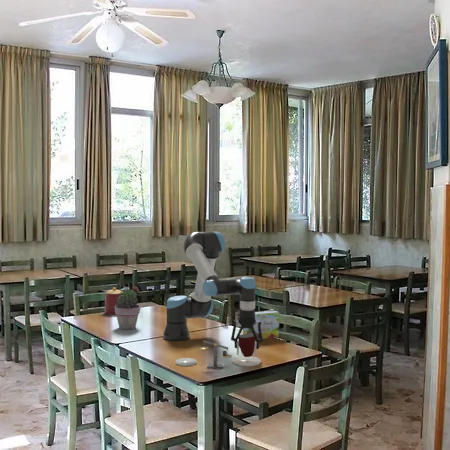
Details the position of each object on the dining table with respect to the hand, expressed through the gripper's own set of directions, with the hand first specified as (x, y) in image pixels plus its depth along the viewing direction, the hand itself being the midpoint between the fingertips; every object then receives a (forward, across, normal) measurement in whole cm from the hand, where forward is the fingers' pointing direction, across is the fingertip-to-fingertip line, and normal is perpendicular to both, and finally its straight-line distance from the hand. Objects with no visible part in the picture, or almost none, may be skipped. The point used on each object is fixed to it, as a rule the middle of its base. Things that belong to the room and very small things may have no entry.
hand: (246, 355), depth 281 cm
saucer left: (+4, -29, -6) cm, 30 cm away
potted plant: (+4, -79, +61) cm, 100 cm away
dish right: (+4, 0, 0) cm, 4 cm away
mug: (0, 0, 0) cm, 0 cm away
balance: (+4, -14, -10) cm, 18 cm away
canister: (+4, -101, +105) cm, 146 cm away
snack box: (+4, +4, +51) cm, 51 cm away
